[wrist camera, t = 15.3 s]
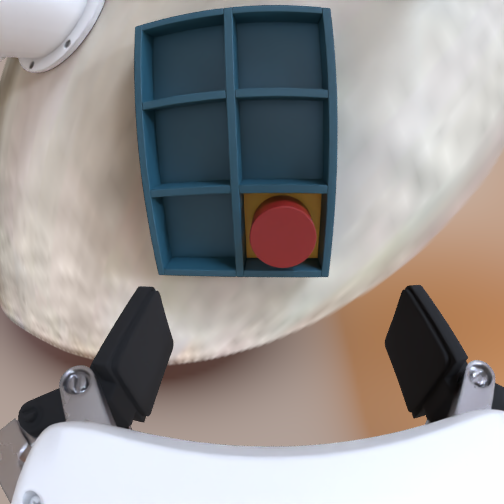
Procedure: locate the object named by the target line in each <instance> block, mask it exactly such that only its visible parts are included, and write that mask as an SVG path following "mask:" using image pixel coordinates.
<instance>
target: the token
mask: <svg viewBox="0 0 504 504" xmlns="http://www.w3.org/2000/svg"><path fill="white" fill-rule="evenodd" d="M249 239H250V245H251V248H252V250H253V252H254V253H255V255H256V256H257V257H258V258H259V259H260V260H261V261H262V262H264V263H266V264H268V265H270V266H273V267H277V268H288V267H293V266H296V265H298V264H300V263H302V262H303V261H304V260H306V259H307V258H308V257H309V256H310V254H311V253H312V251H313V249H314V247H315V244H316V239H317V236H316V229H315V226H314V223H313V221H312V218H311V215H310V213H309V211H308V209H307V208H306V206H305V205H304V204H303V203H302V202H301V201H299V200H298V199H296V198H294V197H291V196H286V195H278V196H273V197H270V198H268V199H266V200H265V201H263V202H262V203H261V204H260V205H259V206H258V208H257V209H256V211H255V213H254V216H253V220H252V224H251V229H250V235H249Z"/></svg>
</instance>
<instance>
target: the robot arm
mask: <svg viewBox="0 0 504 504" xmlns="http://www.w3.org/2000/svg"><path fill="white" fill-rule="evenodd" d="M104 2H105V0H0V62H1V61H2V60H3V59H4V58H5V57H18V59H19V62H20V65H21V66H22V67H23V69H24V70H26V71H28V72H34V73H35V72H36V73H37V72H45V71H48V70H50V69H52V68H54V67H56V66H57V65H59V64H60V63H61V62H63V61H64V60H65V59H66V58H67V57H68V56H70V55H71V54H72V53H73V52H74V51H75V49H76V48H77V47H78V46H79V45H80V44H81V43H82V41H83V40H84V39H85V37H86V36H87V35H88V33H89V32H90V30H91V28H92V27H93V25H94V24H95V22H96V20H97V18H98V16H99V14H100V12H101V10H102V7H103V4H104ZM385 347H386V350H387V352H388V355H389V357H390V360H391V363H392V365H393V368H394V371H395V373H396V376H397V379H398V382H399V385H400V388H401V391H402V393H403V396H404V399H405V402H406V406H407V408H408V411H409V412H412V415H413V418H417V417H421V416H424V415H426V417H427V421H426V423H425V425H423V426H419V427H415V428H412V429H407V430H403V431H399V432H396V433H391V434H386V435H381V436H376V437H371V438H366V439H360V440H353V441H346V442H338V443H330V444H319V445H305V446H279V447H263V446H236V445H221V444H211V443H202V442H195V441H188V440H181V439H175V438H169V437H164V436H158V435H153V434H148V433H143V432H139V431H134V430H132V428H131V426H130V425H131V424H132V421H133V420H135V421H139V422H144V421H145V418H146V416H149V415H150V414H151V411H152V408H153V405H154V402H155V399H156V396H157V393H158V390H159V387H160V384H161V381H162V378H163V375H164V372H165V369H166V366H167V364H168V361H169V358H170V355H171V352H172V350H173V339H172V336H171V332H170V329H169V326H168V322H167V319H166V315H165V312H164V308H163V304H162V301H161V297H160V294H159V292H158V291H155V289H154V287H142V286H140V287H138V288H137V290H136V291H135V293H134V294H133V296H132V298H131V299H130V301H129V302H128V304H127V305H126V307H125V308H124V310H123V312H122V313H121V315H120V316H119V318H118V320H117V321H116V323H115V324H114V326H113V328H112V329H111V331H110V333H109V334H108V336H107V338H106V339H105V341H104V343H103V344H102V346H101V348H100V350H99V351H98V353H97V355H96V357H95V358H94V360H93V362H92V364H91V366H90V368H88V367H86V366H74V367H72V368H70V369H68V370H67V371H66V372H65V373H64V374H63V376H62V377H61V379H60V385H59V389H56V390H54V391H52V392H49V393H47V394H45V395H42V396H40V397H38V398H35V399H33V400H30V401H28V402H27V403H25V404H24V405H23V406H22V407H21V409H20V411H19V415H18V421H17V420H16V419H14V420H12V421H11V422H10V423H8V424H7V425H6V426H5V427H3V428H2V429H1V430H0V485H1V487H2V489H3V490H4V492H5V494H6V496H7V498H8V500H9V501H10V503H11V504H504V387H502V386H500V385H498V384H496V383H495V375H494V372H493V370H492V368H491V367H490V366H489V365H488V364H487V363H485V362H483V361H479V360H474V361H472V362H470V363H469V364H467V362H466V360H467V358H468V356H467V355H466V353H465V351H464V350H463V348H462V346H461V345H460V343H459V341H458V340H457V338H456V336H455V335H454V333H453V331H452V330H451V328H450V327H449V325H448V324H447V322H446V321H445V319H444V318H443V316H442V314H441V313H440V311H439V310H438V309H437V307H436V306H435V304H434V303H433V301H432V300H431V298H430V297H429V296H428V294H427V293H426V291H425V290H424V289H423V287H422V286H421V285H413V286H407V287H406V288H405V290H403V291H402V293H401V296H400V299H399V302H398V305H397V308H396V311H395V314H394V317H393V320H392V323H391V325H390V328H389V331H388V333H387V336H386V339H385Z"/></svg>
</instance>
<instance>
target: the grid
mask: <svg viewBox="0 0 504 504" xmlns="http://www.w3.org/2000/svg"><path fill="white" fill-rule="evenodd" d="M134 84H135V110H136V126H137V139H138V150H139V159H140V168H141V177H142V184H143V191H144V198H145V205H146V211H147V217H148V223H149V229H150V234H151V240H152V245H153V250H154V255H155V260H156V264H157V269H158V274H159V275H178V276H221V277H236V276H237V277H328V275H329V267H330V257H331V248H332V237H333V225H334V212H335V196H336V175H337V83H336V64H335V50H334V38H333V28H332V19H331V10H330V8H321V7H311V6H293V5H260V6H242V7H233V8H232V7H230V8H224V9H223V8H221V9H213V10H206V11H200V12H194V13H189V14H184V15H179V16H174V17H170V18H166V19H162V20H158V21H154V22H150V23H147V24H143V25H140V26H137V27H135V49H134ZM278 195H286V196H291V197H294V198H296V199H298V200H299V201H301V202H302V203H303V204H304V205H305V206H306V208H307V209H308V211H309V213H310V215H311V218H312V221H313V223H314V226H315V229H316V236H317V239H316V244H315V247H314V249H313V251H312V253H311V254H310V256H309V257H308V258H307V259H306V260H304V261H303V262H302V263H300V264H298V265H296V266H293V267H288V268H277V267H273V266H270V265H268V264H266V263H264V262H262V261H261V260H260V259H259V258H258V257H257V256H256V255H255V253H254V252H253V250H252V248H251V245H250V239H249V235H250V229H251V224H252V220H253V216H254V213H255V211H256V209H257V208H258V206H259V205H260V204H261V203H262V202H263V201H265V200H266V199H268V198H270V197H273V196H278Z"/></svg>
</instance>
